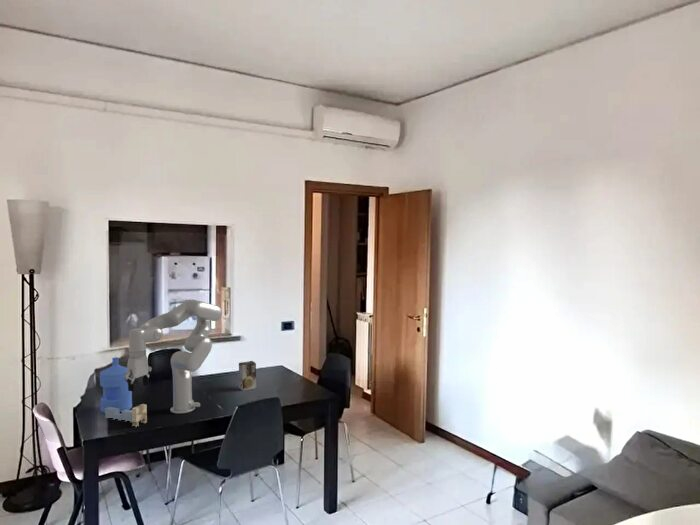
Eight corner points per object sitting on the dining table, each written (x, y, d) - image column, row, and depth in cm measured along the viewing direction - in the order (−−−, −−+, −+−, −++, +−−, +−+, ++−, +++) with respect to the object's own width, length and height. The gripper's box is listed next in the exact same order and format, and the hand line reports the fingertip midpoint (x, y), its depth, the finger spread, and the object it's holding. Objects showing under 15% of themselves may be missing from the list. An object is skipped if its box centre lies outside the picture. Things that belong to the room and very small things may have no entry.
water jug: (120, 403, 284) (119, 353, 283) (138, 407, 276) (137, 356, 275) (94, 411, 271) (92, 359, 270) (112, 416, 263) (111, 362, 262)
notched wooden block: (142, 421, 255) (142, 403, 255) (146, 422, 254) (146, 404, 254) (132, 426, 248) (132, 408, 248) (136, 427, 248) (136, 408, 247)
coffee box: (252, 386, 317) (252, 360, 316) (256, 388, 311) (256, 362, 311) (238, 388, 312) (238, 362, 311) (242, 391, 306) (242, 364, 306)
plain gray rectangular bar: (136, 420, 256) (136, 410, 256) (132, 422, 254) (132, 412, 254) (109, 416, 263) (109, 406, 262) (105, 418, 260) (104, 408, 260)
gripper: (144, 349, 259) (145, 382, 260) (118, 357, 243) (119, 392, 244) (156, 350, 256) (157, 384, 257) (130, 358, 240) (131, 394, 241)
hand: (138, 388), depth 250 cm, fingers open, 9 cm apart
